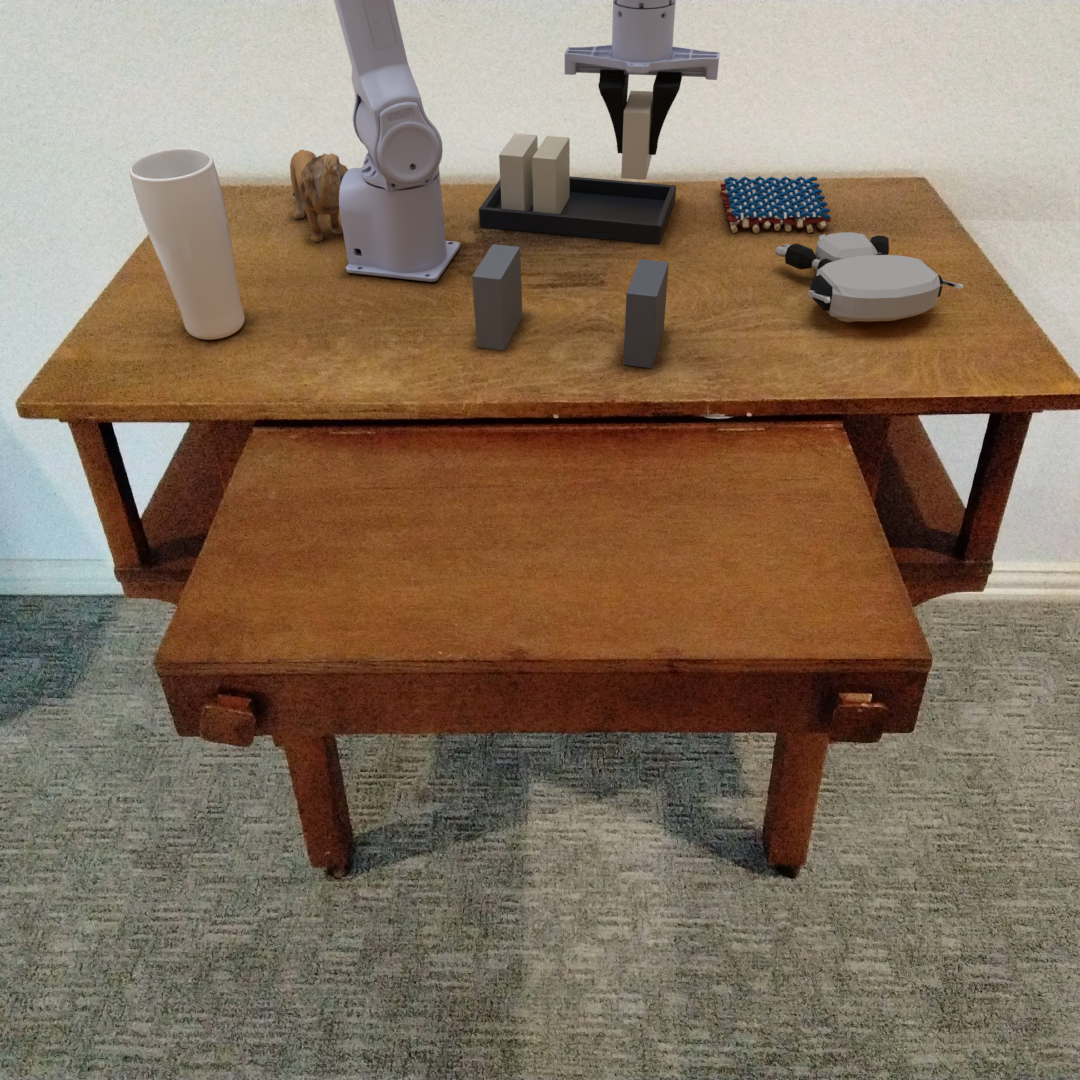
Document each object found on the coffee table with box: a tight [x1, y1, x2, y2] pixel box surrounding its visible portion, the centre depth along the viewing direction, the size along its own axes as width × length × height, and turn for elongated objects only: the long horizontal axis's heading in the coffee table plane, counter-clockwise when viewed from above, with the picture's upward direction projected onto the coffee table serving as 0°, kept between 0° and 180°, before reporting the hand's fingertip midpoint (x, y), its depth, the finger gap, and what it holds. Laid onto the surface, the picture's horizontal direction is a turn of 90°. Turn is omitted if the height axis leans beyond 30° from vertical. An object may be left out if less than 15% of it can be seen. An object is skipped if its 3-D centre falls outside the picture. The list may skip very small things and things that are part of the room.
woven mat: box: [719, 175, 832, 234], centre depth 103 cm, size 10×11×2 cm
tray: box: [478, 176, 677, 245], centre depth 104 cm, size 19×10×2 cm, turn 75°
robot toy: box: [774, 231, 964, 323], centre depth 89 cm, size 12×4×15 cm
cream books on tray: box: [498, 132, 571, 214], centre depth 103 cm, size 6×6×6 cm
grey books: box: [471, 243, 669, 369], centre depth 83 cm, size 16×6×7 cm, turn 75°
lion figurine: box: [289, 149, 349, 243], centre depth 101 cm, size 15×5×9 cm, turn 33°
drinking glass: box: [128, 147, 246, 341], centre depth 83 cm, size 7×7×15 cm
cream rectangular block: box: [620, 90, 653, 180], centre depth 97 cm, size 2×6×6 cm, turn 170°
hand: (637, 150), depth 98 cm, fingers closed on cream rectangular block, 2 cm apart
